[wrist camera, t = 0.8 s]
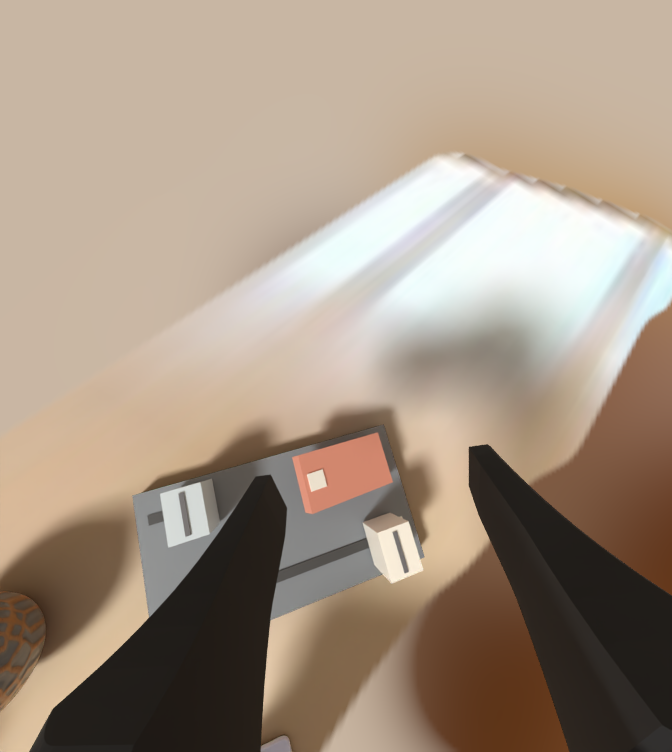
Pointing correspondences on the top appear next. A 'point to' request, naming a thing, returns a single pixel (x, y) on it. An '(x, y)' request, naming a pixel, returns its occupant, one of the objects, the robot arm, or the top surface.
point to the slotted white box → (189, 512)
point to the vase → (18, 642)
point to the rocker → (341, 472)
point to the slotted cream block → (392, 547)
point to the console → (302, 538)
